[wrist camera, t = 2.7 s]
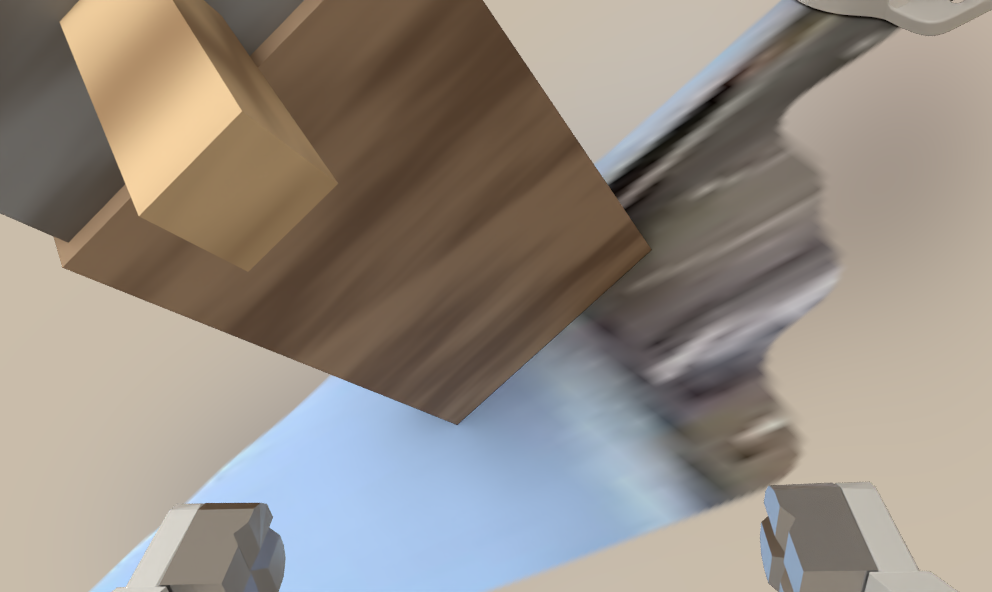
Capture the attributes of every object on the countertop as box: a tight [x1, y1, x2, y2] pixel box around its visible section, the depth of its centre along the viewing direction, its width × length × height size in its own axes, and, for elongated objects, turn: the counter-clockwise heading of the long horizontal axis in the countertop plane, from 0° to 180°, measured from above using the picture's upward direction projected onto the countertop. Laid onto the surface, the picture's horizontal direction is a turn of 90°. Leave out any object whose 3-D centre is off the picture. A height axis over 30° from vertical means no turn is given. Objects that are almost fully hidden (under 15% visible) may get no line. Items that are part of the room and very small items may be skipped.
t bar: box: [0, 0, 338, 272], centre depth 19 cm, size 12×15×6 cm
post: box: [53, 0, 651, 425], centre depth 34 cm, size 4×16×26 cm, turn 125°
